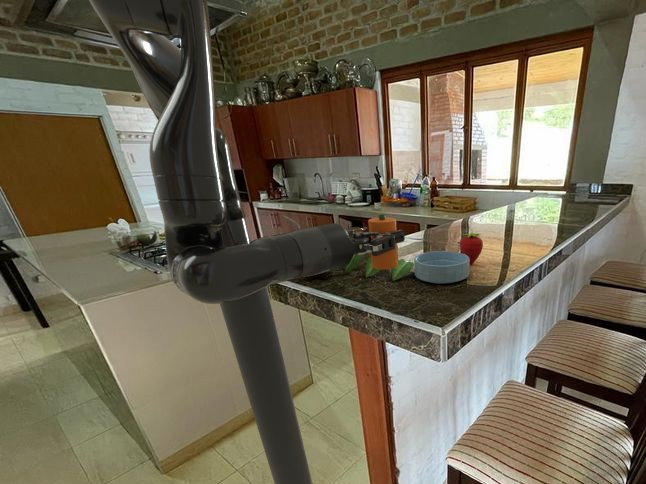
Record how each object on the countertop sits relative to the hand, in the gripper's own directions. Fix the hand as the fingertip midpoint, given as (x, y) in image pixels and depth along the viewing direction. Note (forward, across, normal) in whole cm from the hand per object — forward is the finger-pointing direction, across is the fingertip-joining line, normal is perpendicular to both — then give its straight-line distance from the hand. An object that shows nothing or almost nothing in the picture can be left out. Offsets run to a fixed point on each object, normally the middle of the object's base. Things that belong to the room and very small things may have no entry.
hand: (392, 233), depth 66 cm
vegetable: (-3, 0, +6) cm, 7 cm away
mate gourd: (-5, +23, +13) cm, 27 cm away
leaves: (+7, +13, +13) cm, 20 cm away
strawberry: (+27, 0, +13) cm, 30 cm away
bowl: (+15, 0, +13) cm, 20 cm away
